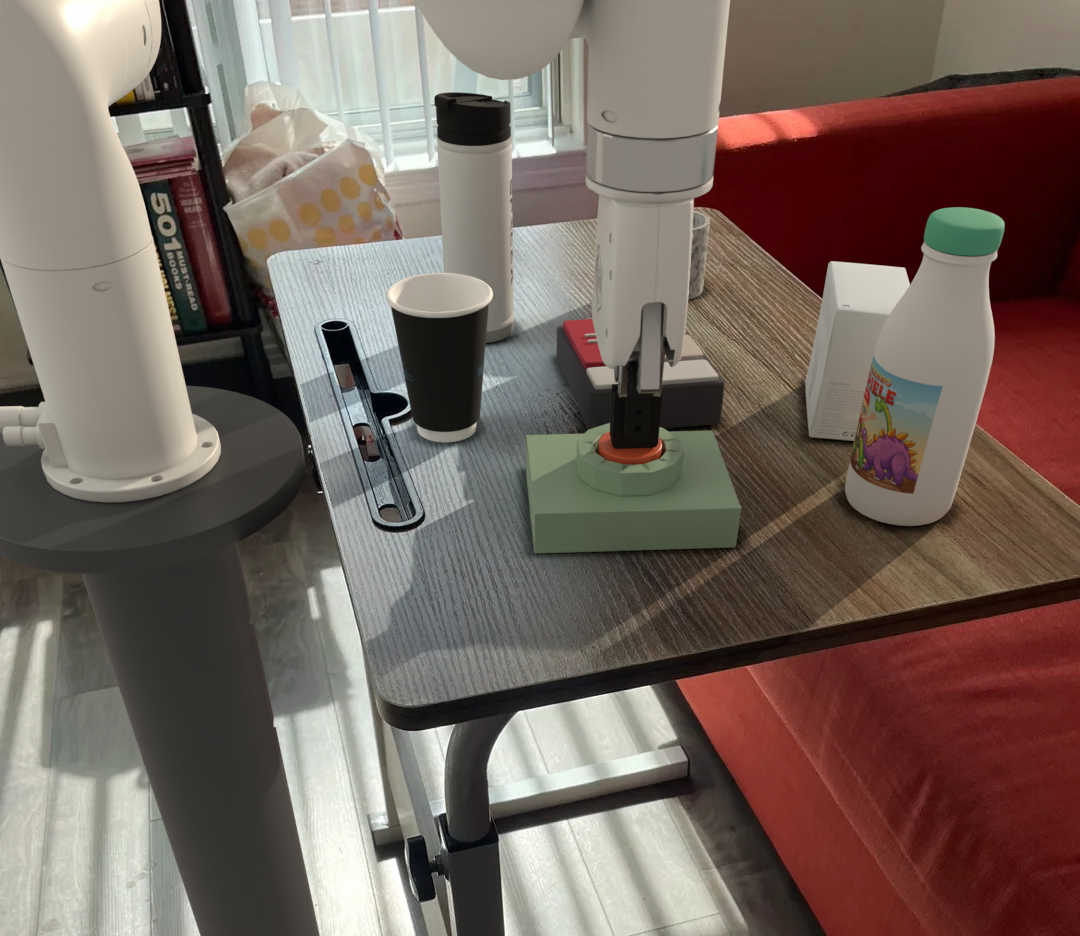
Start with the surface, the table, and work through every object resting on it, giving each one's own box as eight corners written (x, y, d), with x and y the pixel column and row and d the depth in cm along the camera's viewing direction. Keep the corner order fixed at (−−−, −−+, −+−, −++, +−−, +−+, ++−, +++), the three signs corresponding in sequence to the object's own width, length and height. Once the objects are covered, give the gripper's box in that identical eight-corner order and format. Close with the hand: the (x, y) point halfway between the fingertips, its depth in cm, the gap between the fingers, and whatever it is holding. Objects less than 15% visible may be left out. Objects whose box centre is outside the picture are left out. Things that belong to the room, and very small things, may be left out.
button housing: (534, 553, 76) (534, 489, 73) (525, 473, 84) (525, 412, 81) (735, 547, 77) (745, 484, 73) (708, 468, 85) (715, 407, 82)
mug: (641, 273, 115) (646, 205, 110) (706, 278, 114) (713, 210, 109) (627, 310, 107) (631, 240, 103) (696, 316, 106) (703, 245, 102)
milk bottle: (920, 470, 85) (992, 193, 72) (970, 523, 79) (1058, 233, 66) (826, 480, 84) (882, 200, 70) (870, 535, 78) (939, 242, 65)
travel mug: (430, 330, 104) (415, 90, 90) (484, 311, 107) (477, 78, 94) (473, 351, 100) (464, 105, 87) (527, 331, 104) (526, 91, 90)
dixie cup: (378, 426, 90) (364, 289, 82) (454, 396, 94) (448, 264, 86) (438, 462, 85) (429, 322, 78) (516, 430, 89) (514, 294, 82)
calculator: (677, 308, 99) (727, 373, 87) (673, 356, 101) (722, 424, 90) (555, 316, 97) (590, 383, 86) (555, 364, 100) (589, 435, 88)
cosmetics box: (891, 446, 88) (922, 315, 81) (808, 439, 88) (832, 309, 81) (880, 387, 95) (908, 263, 88) (804, 382, 96) (825, 258, 89)
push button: (601, 482, 76) (602, 459, 75) (594, 450, 80) (595, 428, 79) (664, 480, 77) (666, 457, 75) (655, 449, 80) (657, 426, 79)
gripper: (575, 123, 70) (570, 395, 82) (599, 199, 59) (589, 501, 71) (693, 121, 70) (671, 392, 83) (739, 196, 59) (705, 497, 72)
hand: (633, 442), depth 77 cm, fingers closed
